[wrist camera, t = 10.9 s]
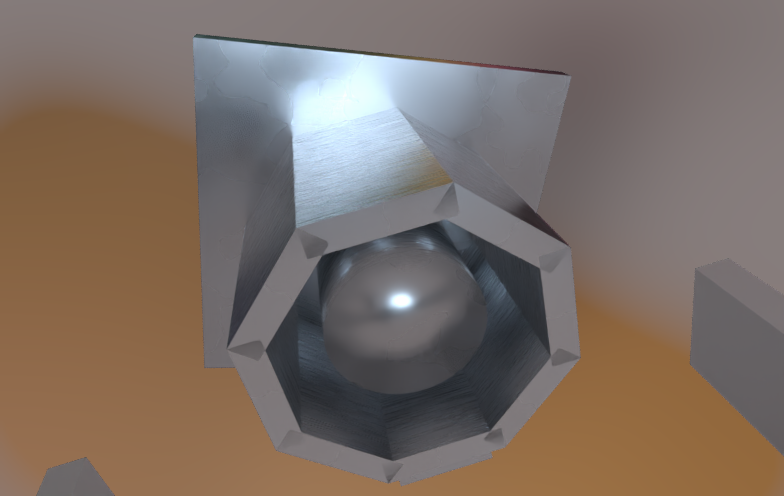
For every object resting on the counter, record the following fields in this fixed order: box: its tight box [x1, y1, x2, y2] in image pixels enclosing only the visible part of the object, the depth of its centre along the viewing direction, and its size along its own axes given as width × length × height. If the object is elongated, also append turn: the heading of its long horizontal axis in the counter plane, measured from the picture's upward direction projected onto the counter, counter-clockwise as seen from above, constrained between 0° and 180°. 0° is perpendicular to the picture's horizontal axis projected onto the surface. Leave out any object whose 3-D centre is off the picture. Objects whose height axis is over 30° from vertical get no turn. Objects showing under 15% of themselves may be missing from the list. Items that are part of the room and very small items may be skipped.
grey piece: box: [227, 107, 581, 486], centre depth 18 cm, size 11×8×7 cm
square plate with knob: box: [193, 34, 571, 394], centre depth 18 cm, size 12×12×7 cm
